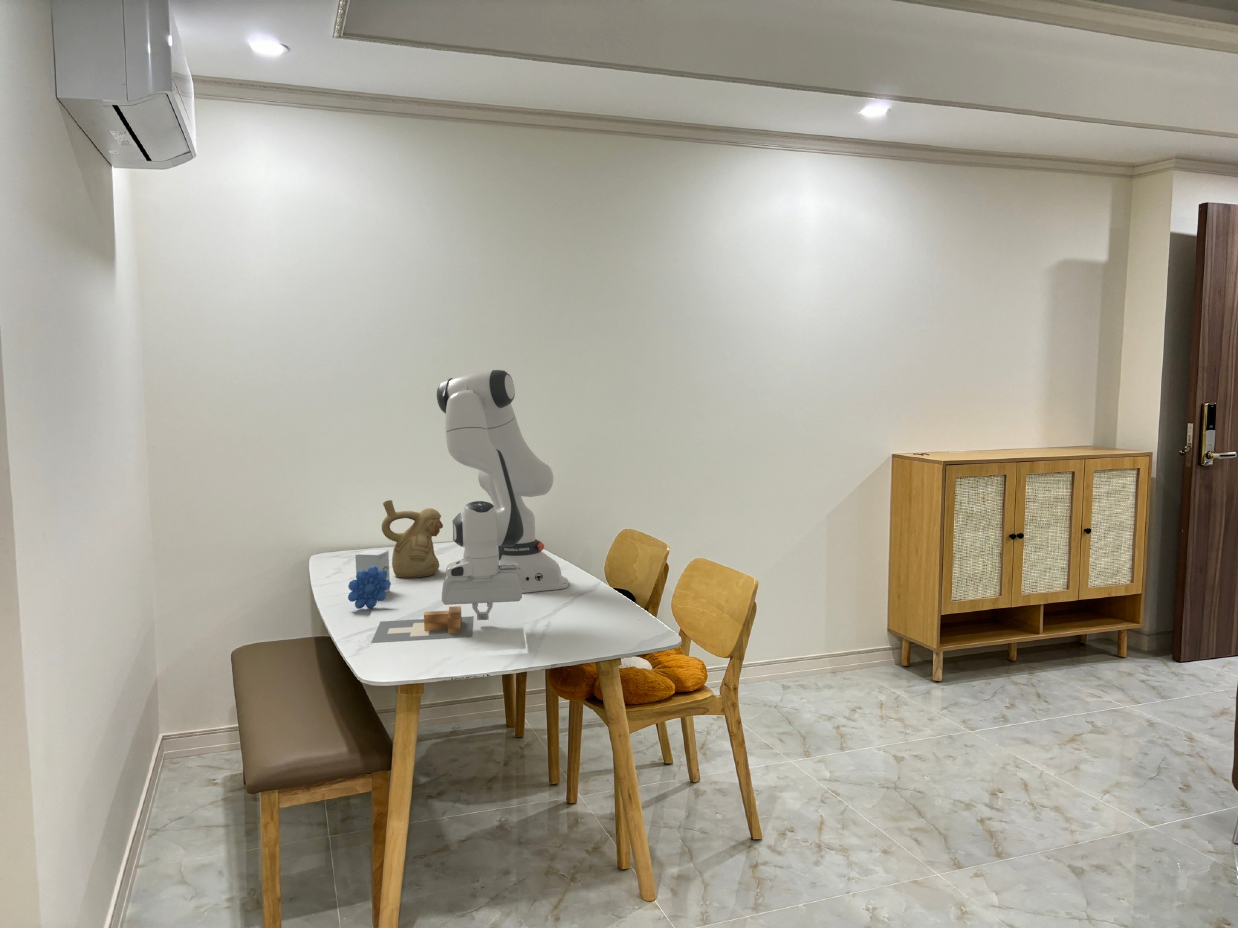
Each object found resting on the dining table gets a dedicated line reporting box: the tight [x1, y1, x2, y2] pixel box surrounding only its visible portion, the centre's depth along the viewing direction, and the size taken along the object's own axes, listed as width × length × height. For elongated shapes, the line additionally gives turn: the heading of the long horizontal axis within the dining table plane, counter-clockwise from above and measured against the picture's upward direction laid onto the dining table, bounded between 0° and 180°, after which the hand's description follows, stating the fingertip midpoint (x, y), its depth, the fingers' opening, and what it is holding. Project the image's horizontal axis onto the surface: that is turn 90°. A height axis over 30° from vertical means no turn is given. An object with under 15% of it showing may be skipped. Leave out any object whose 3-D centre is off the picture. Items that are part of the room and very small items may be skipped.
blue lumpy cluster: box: [347, 566, 392, 610], centre depth 239 cm, size 12×7×12 cm, turn 110°
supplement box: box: [355, 549, 391, 593], centre depth 255 cm, size 7×7×13 cm
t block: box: [423, 605, 462, 633], centre depth 216 cm, size 9×10×4 cm
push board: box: [370, 615, 474, 644], centre depth 216 cm, size 24×18×1 cm
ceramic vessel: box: [381, 499, 444, 579], centre depth 278 cm, size 17×20×25 cm
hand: (482, 619), depth 218 cm, fingers closed
